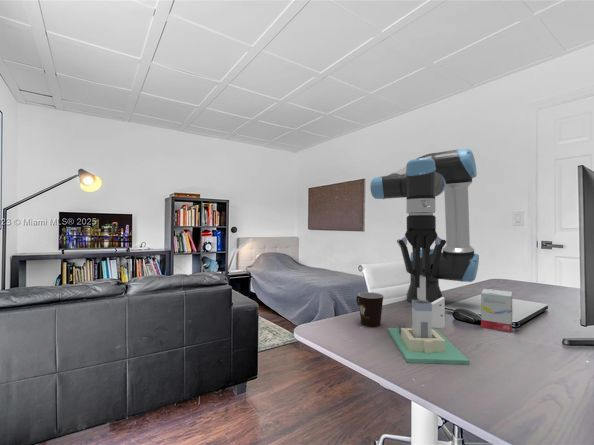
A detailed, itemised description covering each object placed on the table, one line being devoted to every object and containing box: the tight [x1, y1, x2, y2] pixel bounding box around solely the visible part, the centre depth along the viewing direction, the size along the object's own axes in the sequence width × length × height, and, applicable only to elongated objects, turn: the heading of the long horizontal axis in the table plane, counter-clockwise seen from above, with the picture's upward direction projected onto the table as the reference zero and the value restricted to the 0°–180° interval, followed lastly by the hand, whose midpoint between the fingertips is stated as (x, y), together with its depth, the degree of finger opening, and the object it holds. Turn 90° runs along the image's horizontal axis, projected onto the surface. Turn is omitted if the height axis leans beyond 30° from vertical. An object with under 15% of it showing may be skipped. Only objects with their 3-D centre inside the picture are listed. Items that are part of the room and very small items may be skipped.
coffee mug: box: [356, 291, 384, 328], centre depth 105 cm, size 12×9×10 cm
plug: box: [411, 300, 433, 338], centre depth 83 cm, size 4×4×12 cm
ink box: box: [480, 288, 513, 333], centre depth 100 cm, size 9×9×12 cm
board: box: [387, 323, 470, 365], centre depth 85 cm, size 22×15×4 cm
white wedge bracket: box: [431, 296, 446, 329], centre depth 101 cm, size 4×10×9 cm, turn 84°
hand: (421, 299), depth 83 cm, fingers closed
